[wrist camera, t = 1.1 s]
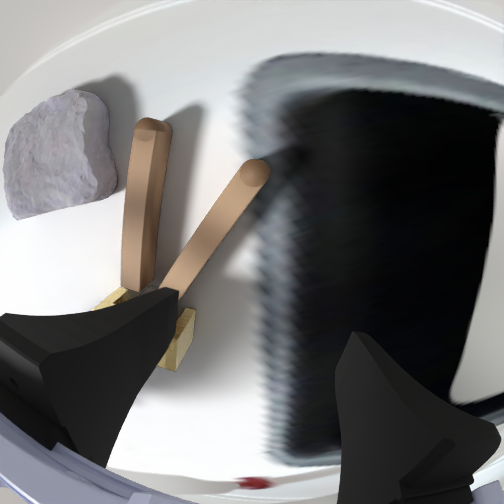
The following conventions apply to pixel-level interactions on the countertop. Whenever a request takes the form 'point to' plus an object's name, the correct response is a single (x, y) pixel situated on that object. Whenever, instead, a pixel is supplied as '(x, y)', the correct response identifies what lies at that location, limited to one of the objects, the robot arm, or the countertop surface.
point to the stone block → (59, 156)
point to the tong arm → (217, 224)
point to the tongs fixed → (143, 203)
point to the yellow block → (180, 338)
